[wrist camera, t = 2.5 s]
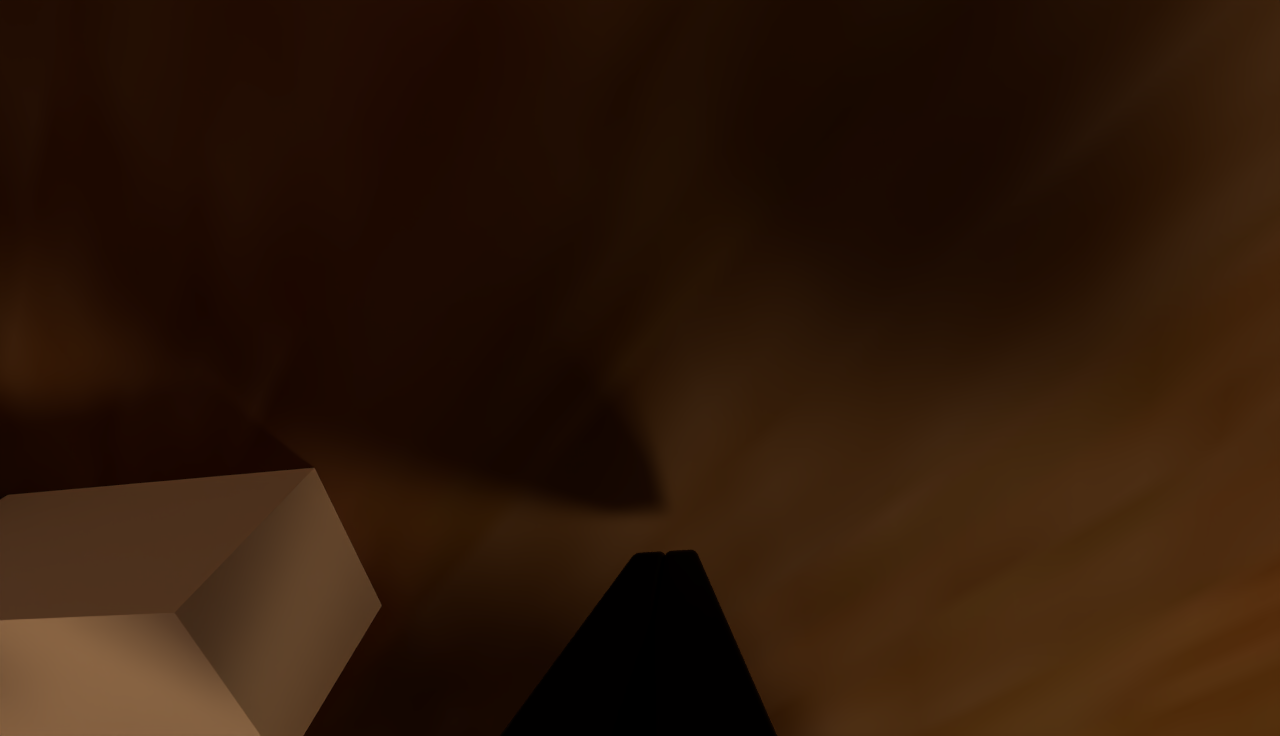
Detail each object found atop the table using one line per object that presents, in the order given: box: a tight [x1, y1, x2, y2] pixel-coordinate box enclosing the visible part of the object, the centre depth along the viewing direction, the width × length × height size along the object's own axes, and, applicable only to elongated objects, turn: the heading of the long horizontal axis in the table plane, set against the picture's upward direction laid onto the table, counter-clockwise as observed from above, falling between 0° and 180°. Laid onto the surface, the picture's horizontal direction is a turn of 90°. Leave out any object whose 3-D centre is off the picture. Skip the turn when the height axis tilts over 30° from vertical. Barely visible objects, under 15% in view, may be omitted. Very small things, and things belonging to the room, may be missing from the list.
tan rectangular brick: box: [0, 468, 382, 736], centre depth 10 cm, size 3×6×3 cm, turn 100°
